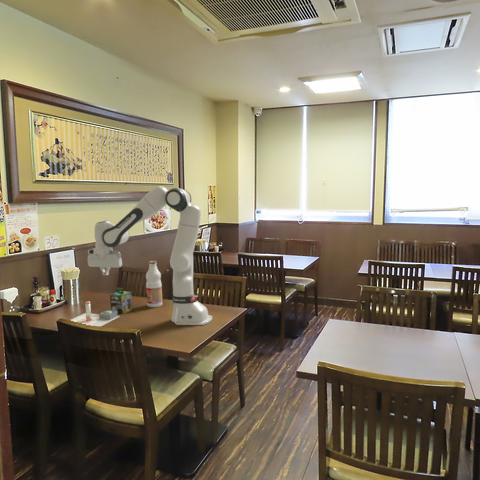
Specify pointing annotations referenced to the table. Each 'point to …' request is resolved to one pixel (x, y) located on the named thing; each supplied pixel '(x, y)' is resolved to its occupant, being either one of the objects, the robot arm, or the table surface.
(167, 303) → the table surface
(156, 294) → the fruit juice
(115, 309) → the chalk box
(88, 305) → the marker
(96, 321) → the board
